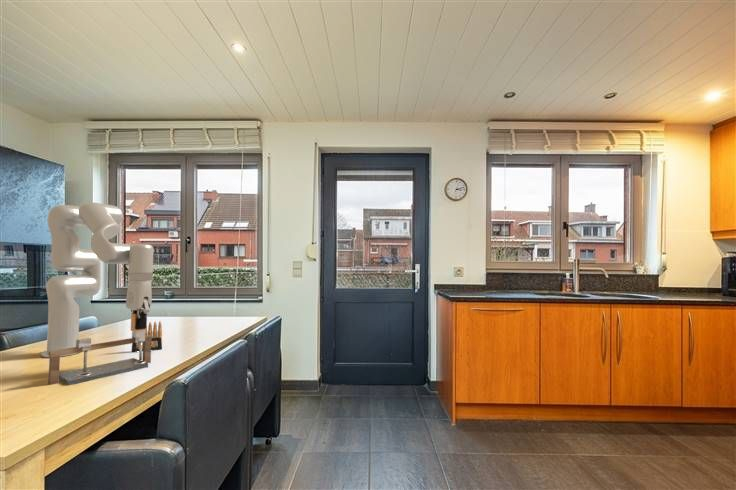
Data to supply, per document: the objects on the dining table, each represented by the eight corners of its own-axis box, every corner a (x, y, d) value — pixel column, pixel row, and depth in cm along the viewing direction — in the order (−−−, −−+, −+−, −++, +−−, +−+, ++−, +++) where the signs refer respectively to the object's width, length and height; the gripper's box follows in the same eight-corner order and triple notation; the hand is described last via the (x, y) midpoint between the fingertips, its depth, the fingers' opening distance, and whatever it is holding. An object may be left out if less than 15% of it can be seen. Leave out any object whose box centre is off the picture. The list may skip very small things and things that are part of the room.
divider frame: (46, 383, 105) (48, 343, 106) (148, 361, 128) (149, 328, 129) (51, 386, 103) (53, 345, 103) (153, 363, 126) (155, 330, 126)
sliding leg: (129, 359, 124) (131, 313, 124) (141, 357, 127) (143, 312, 128) (135, 361, 121) (136, 314, 122) (147, 359, 124) (149, 313, 125)
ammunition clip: (131, 352, 141) (132, 323, 141) (132, 351, 142) (133, 322, 143) (161, 349, 145) (162, 321, 146) (162, 348, 147) (162, 320, 148)
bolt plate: (56, 377, 110) (56, 373, 110) (135, 360, 129) (135, 357, 129) (68, 385, 103) (68, 380, 104) (150, 366, 122) (150, 362, 122)
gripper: (119, 277, 127) (117, 327, 126) (138, 279, 118) (137, 333, 117) (141, 276, 133) (140, 324, 132) (162, 278, 124) (160, 329, 123)
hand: (138, 327), depth 125 cm, fingers closed on sliding leg, 3 cm apart
